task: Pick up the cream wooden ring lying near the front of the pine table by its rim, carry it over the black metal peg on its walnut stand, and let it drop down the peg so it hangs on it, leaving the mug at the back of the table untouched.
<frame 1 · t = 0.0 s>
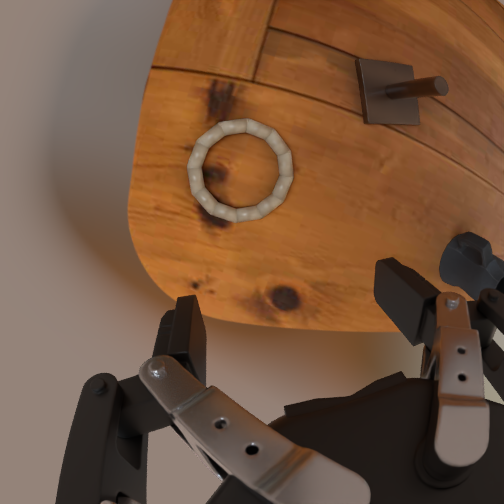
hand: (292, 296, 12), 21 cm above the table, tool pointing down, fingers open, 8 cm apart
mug: (455, 252, 38), on the table
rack: (387, 93, 28), on the table
ring: (241, 170, 29), point 1 cm above the table
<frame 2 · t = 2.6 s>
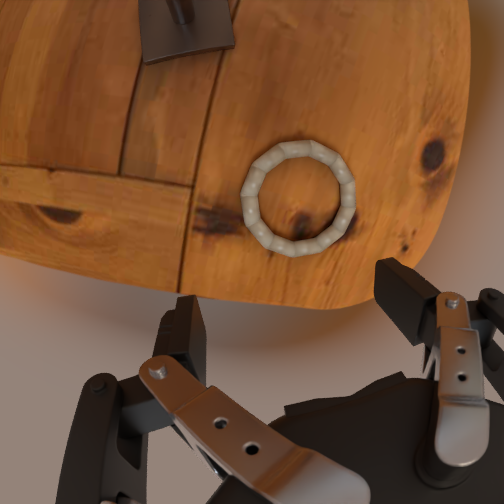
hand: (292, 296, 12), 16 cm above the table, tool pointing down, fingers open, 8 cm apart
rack: (185, 20, 19), on the table
ring: (301, 200, 26), point 1 cm above the table
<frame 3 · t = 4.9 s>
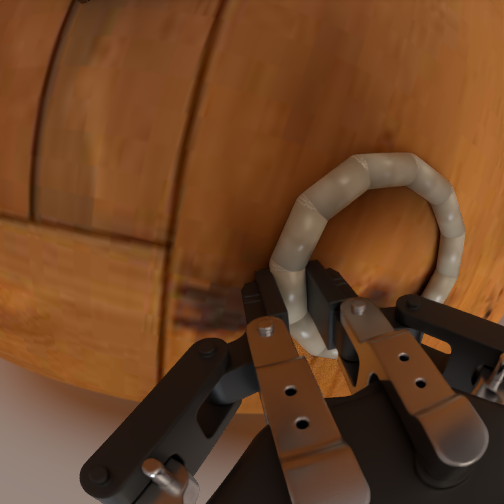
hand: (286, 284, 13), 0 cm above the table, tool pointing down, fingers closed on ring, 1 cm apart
ring: (383, 269, 13), point 1 cm above the table, touching gripper
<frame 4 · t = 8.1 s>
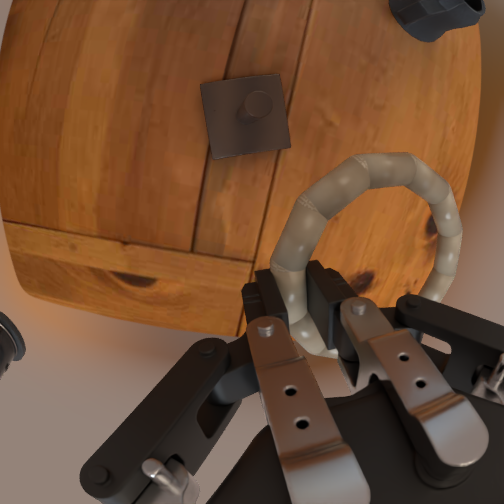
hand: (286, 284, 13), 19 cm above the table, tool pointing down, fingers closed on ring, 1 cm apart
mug: (409, 16, 23), on the table
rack: (245, 115, 27), on the table
ring: (382, 268, 13), point 19 cm above the table, touching gripper
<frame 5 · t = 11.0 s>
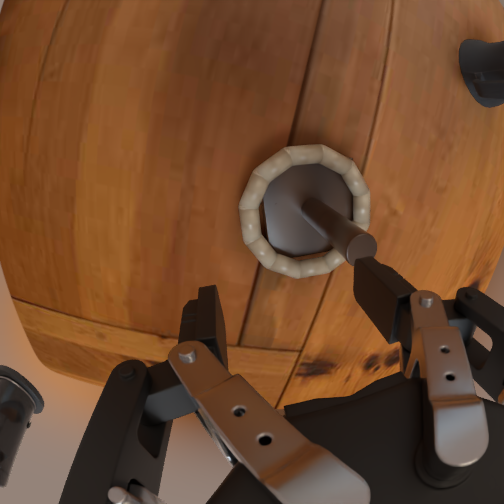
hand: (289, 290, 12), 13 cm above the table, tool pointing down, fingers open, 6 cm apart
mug: (475, 76, 20), on the table
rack: (308, 206, 24), on the table
ring: (309, 214, 22), point 2 cm above the table, touching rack
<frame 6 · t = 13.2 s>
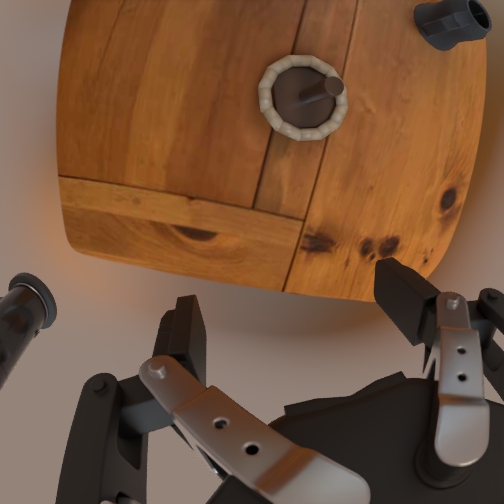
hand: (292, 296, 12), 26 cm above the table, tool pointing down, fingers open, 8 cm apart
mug: (429, 28, 27), on the table
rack: (304, 97, 31), on the table
ring: (304, 96, 30), point 2 cm above the table, touching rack
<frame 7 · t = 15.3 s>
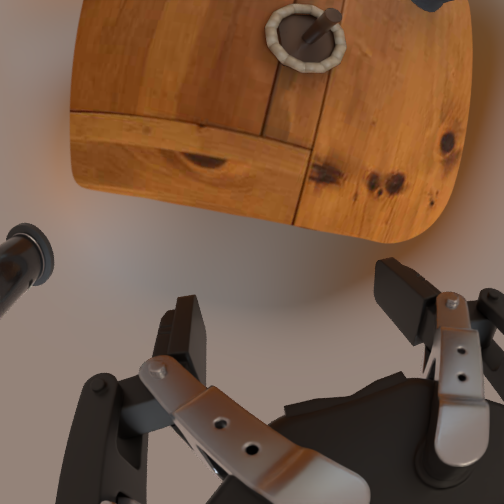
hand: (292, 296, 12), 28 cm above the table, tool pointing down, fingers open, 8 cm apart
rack: (306, 40, 31), on the table
ring: (307, 36, 29), point 2 cm above the table, touching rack
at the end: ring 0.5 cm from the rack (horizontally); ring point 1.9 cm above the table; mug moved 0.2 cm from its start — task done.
